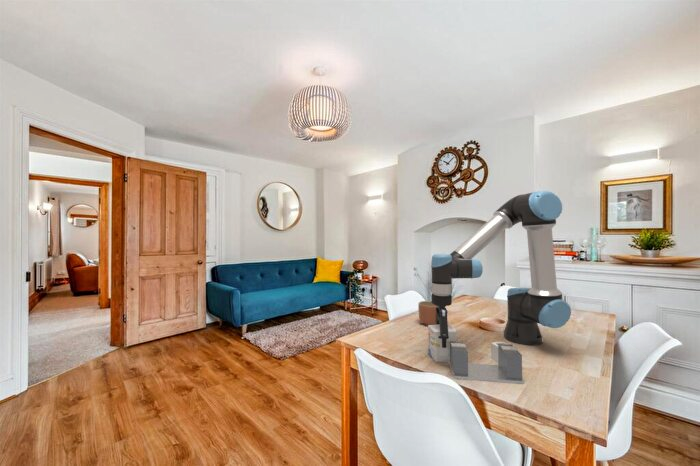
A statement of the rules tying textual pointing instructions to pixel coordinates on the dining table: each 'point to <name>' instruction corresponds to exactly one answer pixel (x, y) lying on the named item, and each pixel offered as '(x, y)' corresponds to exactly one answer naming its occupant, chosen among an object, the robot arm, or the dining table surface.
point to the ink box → (435, 342)
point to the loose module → (495, 350)
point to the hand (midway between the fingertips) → (441, 348)
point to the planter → (427, 312)
